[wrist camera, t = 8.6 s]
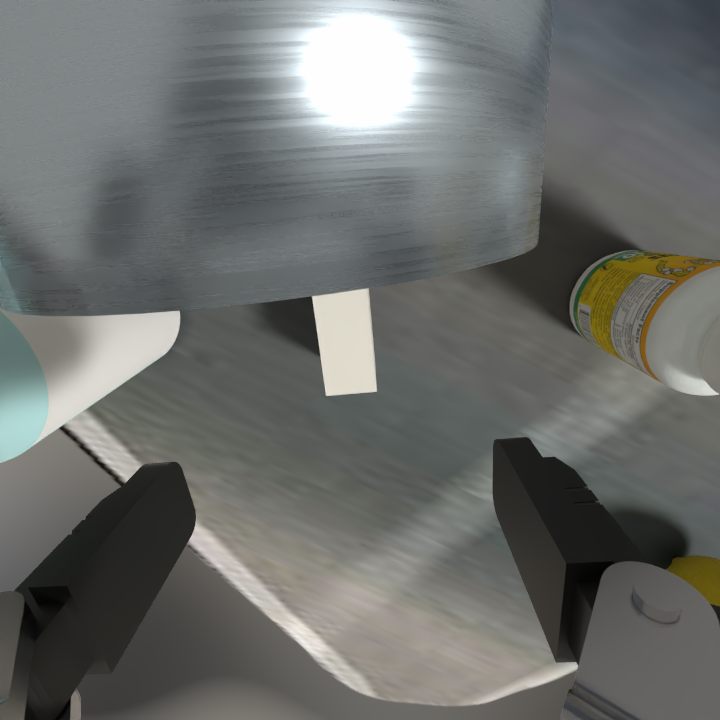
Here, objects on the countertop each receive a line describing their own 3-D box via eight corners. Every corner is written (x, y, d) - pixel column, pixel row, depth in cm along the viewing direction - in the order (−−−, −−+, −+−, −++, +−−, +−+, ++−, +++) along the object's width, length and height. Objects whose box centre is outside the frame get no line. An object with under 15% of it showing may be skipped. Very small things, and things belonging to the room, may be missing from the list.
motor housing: (456, 83, 18) (1864, -1988, 1) (457, 219, 20) (933, 242, 3) (196, 114, 19) (-1494, -884, 2) (224, 242, 21) (-412, 365, 4)
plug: (360, -77, 16) (357, -197, 11) (391, 357, 23) (398, 394, 18) (254, -62, 16) (209, -173, 12) (317, 364, 23) (304, 401, 18)
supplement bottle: (547, 323, 22) (672, 398, 13) (602, 232, 20) (791, 246, 11) (627, 356, 23) (798, 451, 14) (687, 271, 21) (931, 314, 12)
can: (34, 277, 22) (-328, 345, 10) (133, 217, 20) (-155, 220, 9) (115, 380, 24) (-111, 528, 12) (209, 331, 22) (52, 448, 11)
